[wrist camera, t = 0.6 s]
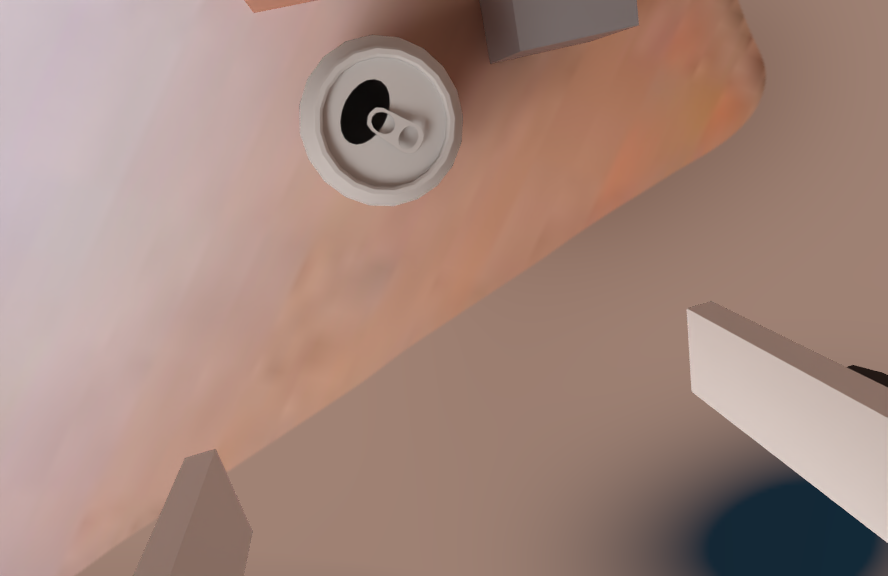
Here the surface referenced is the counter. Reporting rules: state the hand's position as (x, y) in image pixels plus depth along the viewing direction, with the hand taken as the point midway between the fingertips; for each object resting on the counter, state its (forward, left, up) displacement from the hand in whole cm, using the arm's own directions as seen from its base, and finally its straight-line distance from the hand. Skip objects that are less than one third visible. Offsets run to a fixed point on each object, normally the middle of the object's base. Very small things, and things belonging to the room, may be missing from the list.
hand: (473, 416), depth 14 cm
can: (-8, +1, -24) cm, 25 cm away
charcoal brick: (-12, +13, -23) cm, 29 cm away
